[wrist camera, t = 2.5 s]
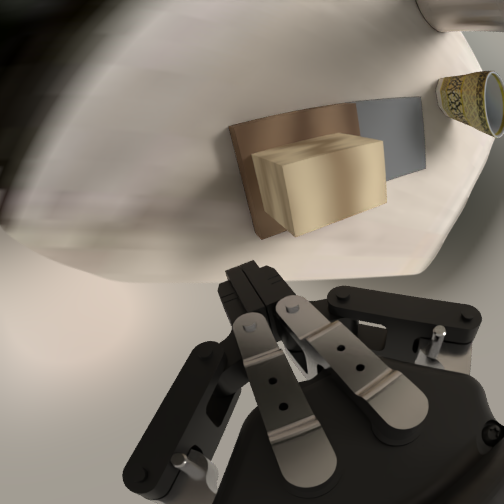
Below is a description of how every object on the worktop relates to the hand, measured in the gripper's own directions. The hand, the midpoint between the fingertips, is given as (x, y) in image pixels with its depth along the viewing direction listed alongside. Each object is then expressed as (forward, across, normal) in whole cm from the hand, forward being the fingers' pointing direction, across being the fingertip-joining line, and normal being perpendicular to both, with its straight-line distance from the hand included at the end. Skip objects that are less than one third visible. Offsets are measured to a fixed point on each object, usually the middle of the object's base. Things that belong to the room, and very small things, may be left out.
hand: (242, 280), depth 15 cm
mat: (+16, -26, 0) cm, 31 cm away
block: (+14, -11, 0) cm, 18 cm away
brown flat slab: (+16, -12, 0) cm, 20 cm away
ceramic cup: (+16, -42, -5) cm, 45 cm away
